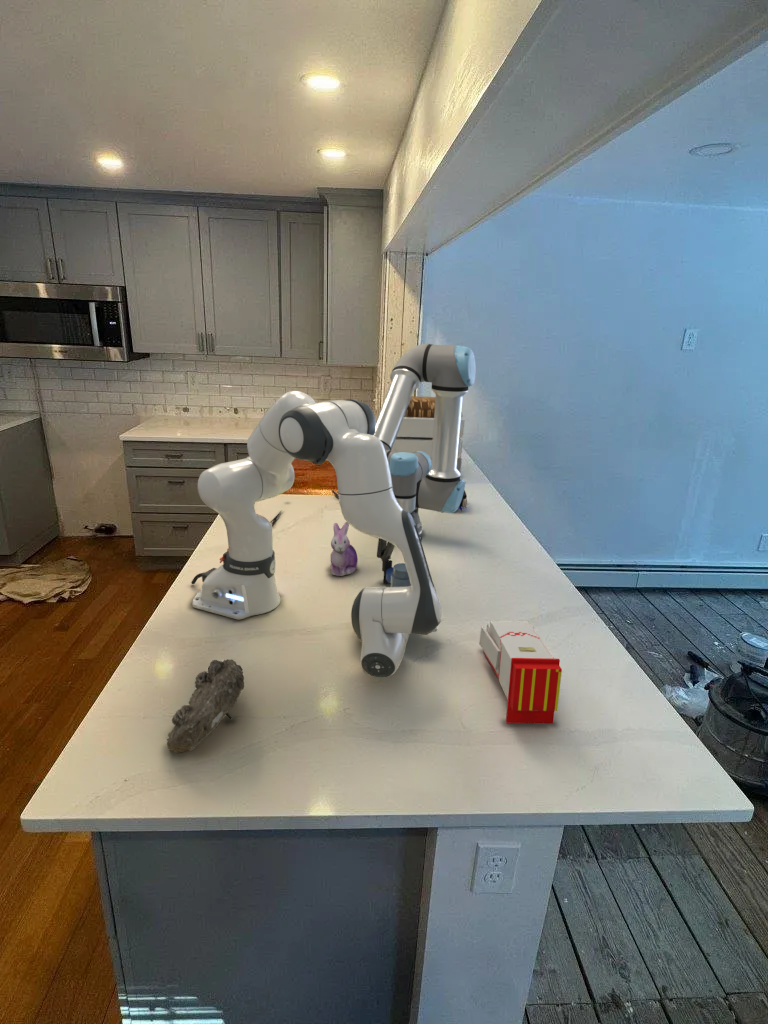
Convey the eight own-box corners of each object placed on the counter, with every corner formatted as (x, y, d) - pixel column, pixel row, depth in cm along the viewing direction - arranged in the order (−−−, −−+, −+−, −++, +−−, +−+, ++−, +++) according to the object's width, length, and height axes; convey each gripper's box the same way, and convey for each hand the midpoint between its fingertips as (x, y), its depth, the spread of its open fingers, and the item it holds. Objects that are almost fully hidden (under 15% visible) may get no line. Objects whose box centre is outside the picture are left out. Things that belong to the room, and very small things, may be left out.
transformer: (382, 463, 289) (386, 382, 275) (445, 464, 293) (451, 384, 279) (390, 482, 257) (394, 392, 243) (460, 483, 261) (468, 394, 247)
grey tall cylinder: (385, 625, 142) (388, 569, 137) (393, 614, 147) (396, 560, 142) (406, 630, 140) (409, 573, 135) (413, 619, 145) (417, 564, 140)
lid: (398, 586, 157) (398, 578, 156) (381, 579, 161) (381, 571, 160) (412, 579, 162) (413, 571, 161) (395, 572, 165) (396, 565, 165)
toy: (526, 605, 135) (570, 665, 105) (521, 658, 137) (563, 730, 108) (475, 604, 134) (506, 664, 105) (472, 657, 137) (500, 729, 108)
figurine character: (467, 516, 223) (461, 500, 237) (469, 499, 220) (463, 483, 233) (450, 516, 223) (446, 499, 236) (452, 498, 220) (447, 483, 233)
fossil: (192, 660, 117) (244, 628, 112) (224, 691, 120) (276, 661, 115) (142, 746, 98) (202, 712, 93) (182, 779, 101) (242, 748, 96)
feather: (288, 505, 226) (290, 501, 226) (271, 529, 199) (273, 524, 199) (284, 503, 226) (287, 499, 225) (266, 526, 199) (269, 522, 199)
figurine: (335, 579, 164) (336, 531, 159) (322, 565, 172) (322, 519, 167) (364, 574, 168) (366, 527, 163) (350, 560, 177) (351, 515, 172)
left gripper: (437, 620, 127) (443, 592, 140) (349, 608, 130) (362, 582, 143) (435, 645, 129) (441, 615, 142) (348, 632, 132) (361, 604, 145)
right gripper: (365, 504, 157) (362, 579, 165) (421, 522, 146) (416, 602, 154) (382, 498, 163) (379, 571, 170) (438, 515, 151) (431, 592, 159)
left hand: (401, 598), depth 142 cm, fingers closed on grey tall cylinder, 5 cm apart
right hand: (396, 585), depth 162 cm, fingers closed on lid, 6 cm apart
